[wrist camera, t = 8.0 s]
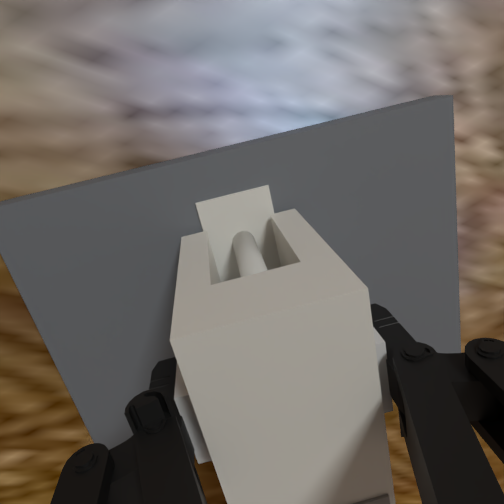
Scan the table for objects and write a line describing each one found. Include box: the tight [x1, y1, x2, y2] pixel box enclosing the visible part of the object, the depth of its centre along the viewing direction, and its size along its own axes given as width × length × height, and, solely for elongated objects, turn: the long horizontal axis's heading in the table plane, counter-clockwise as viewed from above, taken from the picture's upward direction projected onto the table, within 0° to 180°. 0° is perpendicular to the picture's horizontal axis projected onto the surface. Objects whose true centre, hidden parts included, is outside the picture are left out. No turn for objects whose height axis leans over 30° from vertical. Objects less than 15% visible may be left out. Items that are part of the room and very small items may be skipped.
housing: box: [170, 208, 395, 504], centre depth 15 cm, size 5×8×8 cm, turn 13°
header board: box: [0, 95, 461, 450], centre depth 18 cm, size 20×14×6 cm
